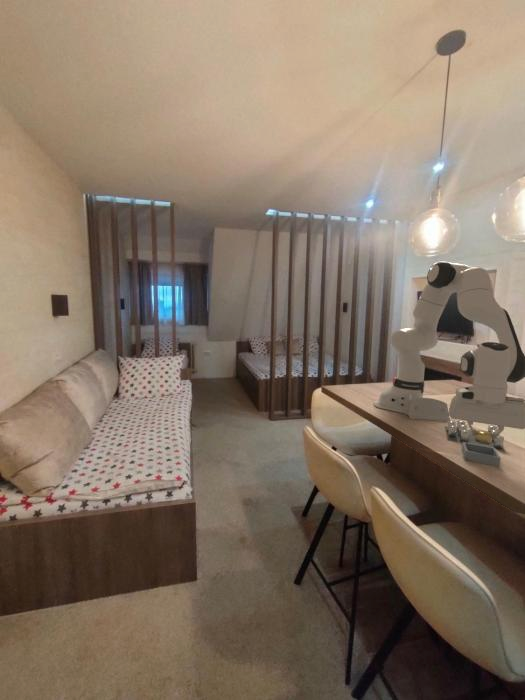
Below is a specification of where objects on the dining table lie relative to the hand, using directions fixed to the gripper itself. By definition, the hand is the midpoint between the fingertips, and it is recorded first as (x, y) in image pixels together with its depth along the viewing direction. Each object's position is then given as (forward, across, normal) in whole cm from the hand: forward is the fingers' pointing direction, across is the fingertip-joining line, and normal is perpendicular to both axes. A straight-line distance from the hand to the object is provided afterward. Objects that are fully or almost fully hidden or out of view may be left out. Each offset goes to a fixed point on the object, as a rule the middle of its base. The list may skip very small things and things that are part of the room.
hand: (483, 436), depth 100 cm
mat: (+7, 0, -18) cm, 19 cm away
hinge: (+8, +15, -35) cm, 39 cm away
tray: (+8, 0, 0) cm, 8 cm away
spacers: (+7, 0, -18) cm, 19 cm away
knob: (+2, 0, 0) cm, 2 cm away
